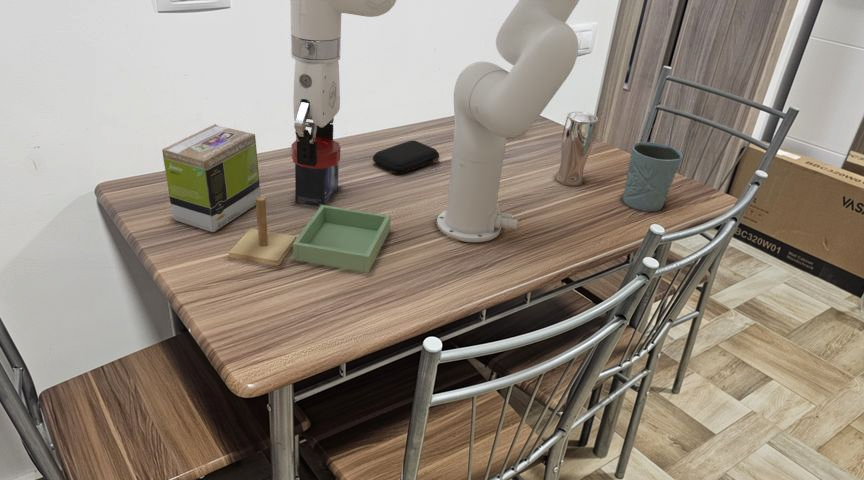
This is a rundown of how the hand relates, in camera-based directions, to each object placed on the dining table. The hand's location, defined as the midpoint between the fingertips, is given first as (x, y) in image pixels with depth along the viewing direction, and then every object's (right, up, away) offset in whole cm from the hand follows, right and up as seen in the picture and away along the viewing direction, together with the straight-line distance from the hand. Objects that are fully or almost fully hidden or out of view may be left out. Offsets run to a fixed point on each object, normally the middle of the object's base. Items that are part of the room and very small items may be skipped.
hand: (315, 154), depth 114 cm
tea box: (-22, -8, +19) cm, 30 cm away
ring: (0, -1, 0) cm, 1 cm away
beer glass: (+52, +2, +42) cm, 67 cm away
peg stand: (-10, -16, +8) cm, 20 cm away
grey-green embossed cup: (+67, -4, +35) cm, 75 cm away
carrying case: (+16, +6, +44) cm, 47 cm away
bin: (+4, -15, +11) cm, 19 cm away
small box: (-3, -4, +28) cm, 28 cm away
